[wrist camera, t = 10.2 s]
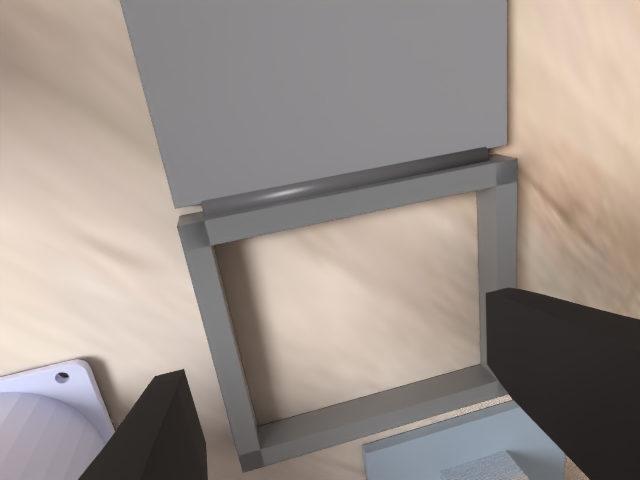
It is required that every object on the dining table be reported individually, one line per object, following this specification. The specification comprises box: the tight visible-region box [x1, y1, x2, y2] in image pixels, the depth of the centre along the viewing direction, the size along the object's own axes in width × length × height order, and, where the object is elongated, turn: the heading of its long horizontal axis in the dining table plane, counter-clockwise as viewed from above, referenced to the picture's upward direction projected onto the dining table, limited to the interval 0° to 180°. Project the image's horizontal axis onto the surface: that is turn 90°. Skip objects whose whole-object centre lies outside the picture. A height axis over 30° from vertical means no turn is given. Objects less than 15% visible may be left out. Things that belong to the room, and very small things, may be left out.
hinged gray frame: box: [120, 0, 517, 473], centre depth 18 cm, size 14×24×2 cm, turn 9°
